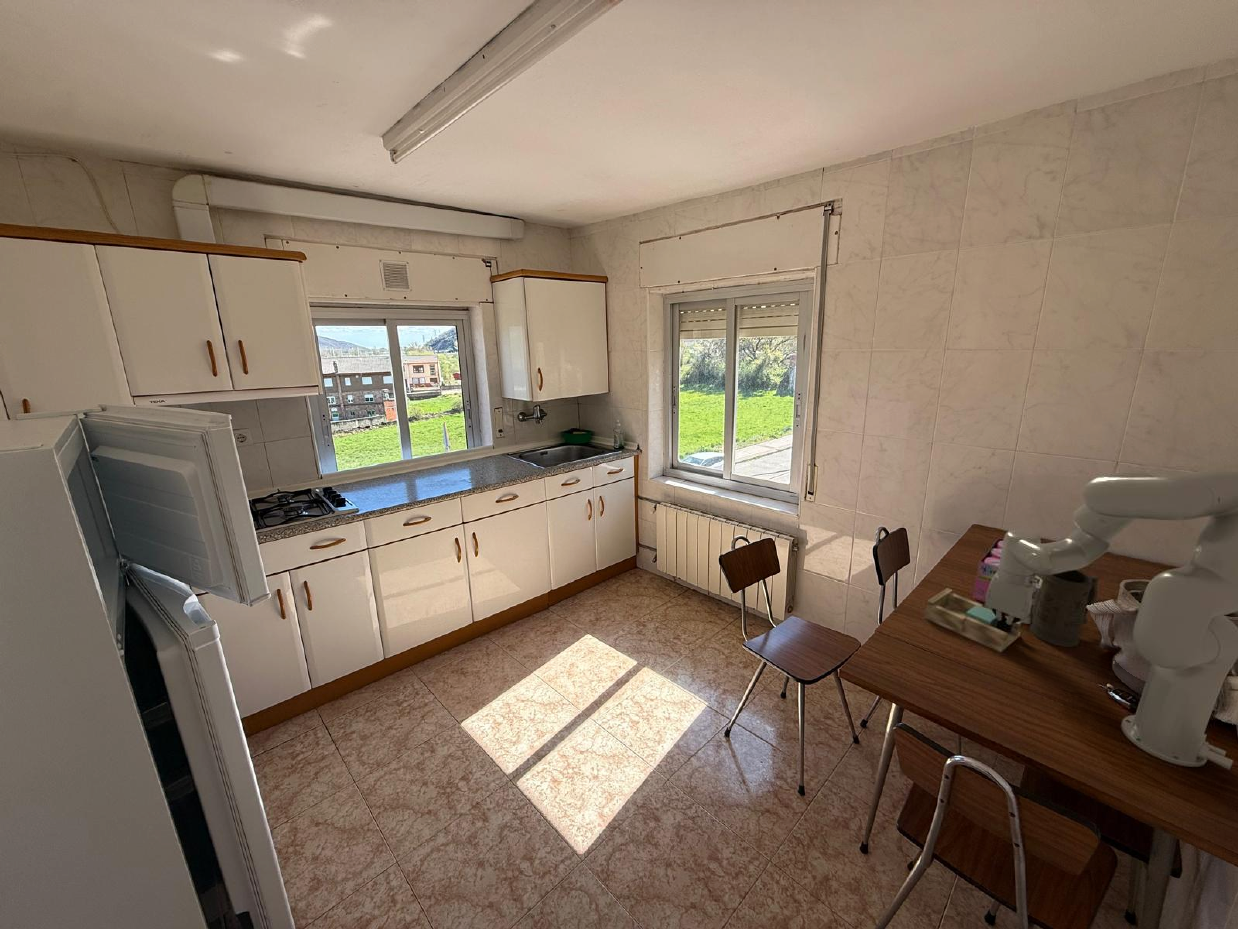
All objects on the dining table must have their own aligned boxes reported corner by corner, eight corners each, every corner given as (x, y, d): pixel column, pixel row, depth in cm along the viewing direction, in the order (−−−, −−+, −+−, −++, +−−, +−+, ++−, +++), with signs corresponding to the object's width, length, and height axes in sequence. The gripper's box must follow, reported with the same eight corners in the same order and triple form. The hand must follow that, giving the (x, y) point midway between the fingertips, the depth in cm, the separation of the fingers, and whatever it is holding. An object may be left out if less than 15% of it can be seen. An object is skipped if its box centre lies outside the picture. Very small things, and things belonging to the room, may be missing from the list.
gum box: (992, 571, 175) (998, 536, 171) (1020, 579, 169) (1027, 543, 165) (971, 598, 160) (978, 560, 156) (1001, 608, 154) (1009, 569, 150)
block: (997, 628, 143) (999, 614, 142) (987, 636, 140) (990, 621, 139) (973, 619, 148) (976, 605, 147) (963, 626, 145) (966, 612, 144)
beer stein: (1058, 651, 134) (1078, 585, 129) (1018, 628, 144) (1035, 566, 139) (1098, 642, 138) (1119, 578, 133) (1056, 621, 148) (1074, 560, 143)
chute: (1019, 636, 141) (1023, 618, 140) (1000, 652, 135) (1004, 633, 133) (944, 604, 158) (947, 587, 156) (924, 617, 151) (927, 600, 150)
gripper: (1055, 582, 130) (1041, 641, 135) (989, 560, 142) (979, 615, 147) (1043, 591, 126) (1029, 652, 131) (977, 568, 138) (967, 624, 144)
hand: (1002, 632), depth 139 cm, fingers closed
